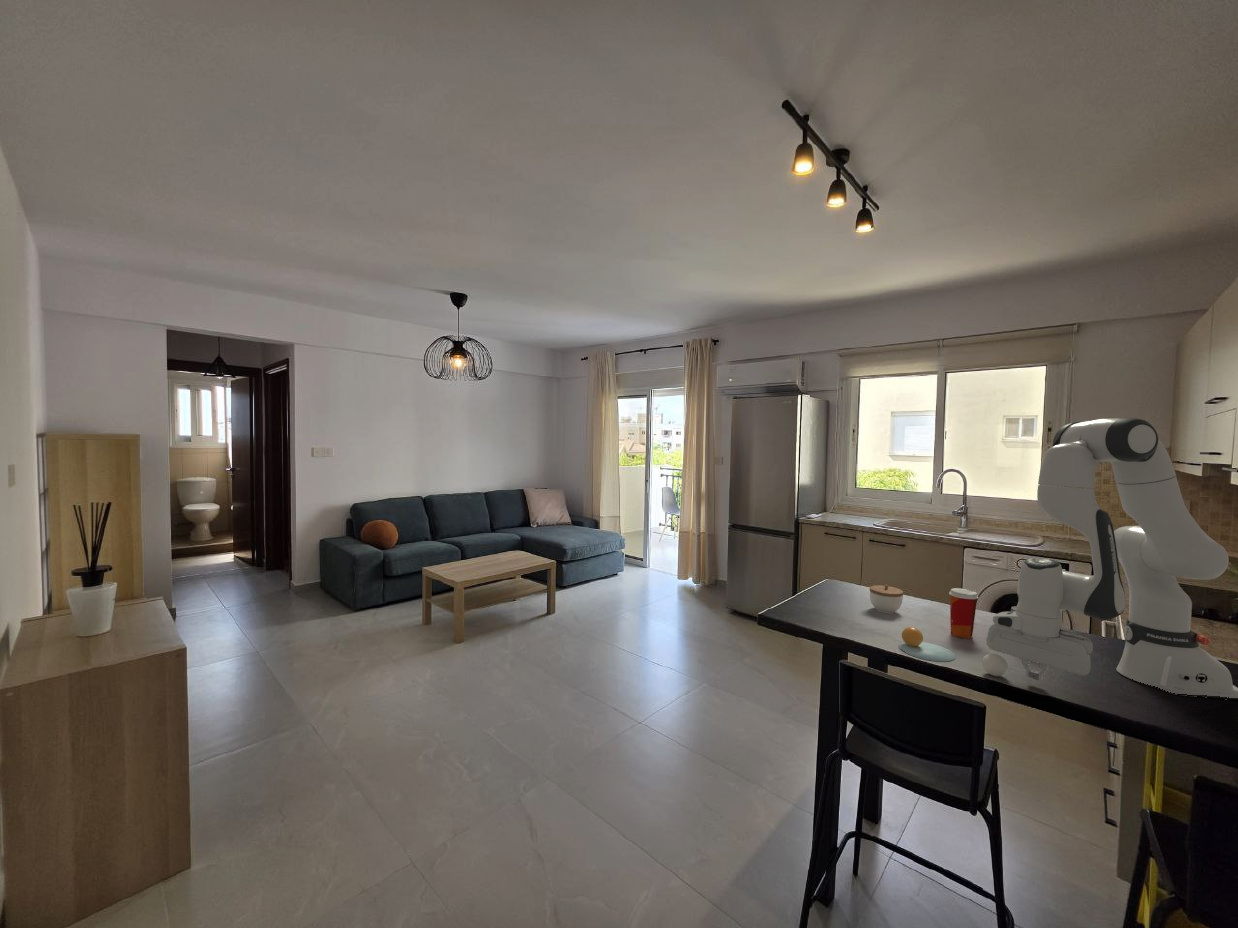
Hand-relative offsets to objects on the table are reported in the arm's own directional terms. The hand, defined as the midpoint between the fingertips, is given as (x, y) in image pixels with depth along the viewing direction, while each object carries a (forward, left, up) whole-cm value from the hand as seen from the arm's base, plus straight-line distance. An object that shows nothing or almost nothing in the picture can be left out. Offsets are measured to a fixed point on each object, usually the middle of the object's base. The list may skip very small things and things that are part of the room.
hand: (1034, 678), depth 130 cm
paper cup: (+9, -32, -2) cm, 33 cm away
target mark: (+22, -13, -2) cm, 25 cm away
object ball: (+25, -15, +1) cm, 29 cm away
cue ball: (+8, -2, +1) cm, 8 cm away
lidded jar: (+29, -48, -2) cm, 56 cm away
